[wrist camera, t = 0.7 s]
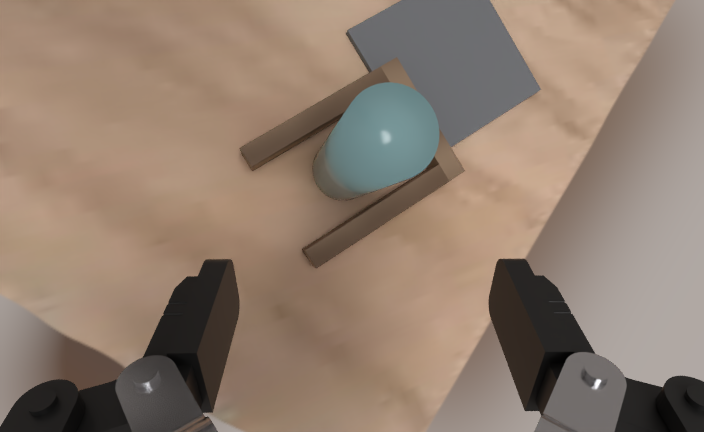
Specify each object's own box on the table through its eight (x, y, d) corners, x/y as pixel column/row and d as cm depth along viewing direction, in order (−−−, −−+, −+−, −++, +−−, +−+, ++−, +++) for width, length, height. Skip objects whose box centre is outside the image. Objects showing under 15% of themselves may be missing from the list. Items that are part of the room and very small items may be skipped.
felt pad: (346, 33, 36) (347, 30, 36) (465, -33, 38) (468, -37, 38) (424, 163, 37) (427, 162, 36) (536, 91, 39) (540, 89, 39)
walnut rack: (241, 154, 34) (239, 148, 32) (388, 68, 37) (396, 57, 34) (312, 265, 35) (316, 268, 33) (451, 174, 37) (464, 171, 35)
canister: (300, 159, 35) (324, 113, 21) (352, 128, 36) (406, 64, 22) (333, 212, 36) (377, 200, 22) (384, 180, 36) (457, 149, 23)
